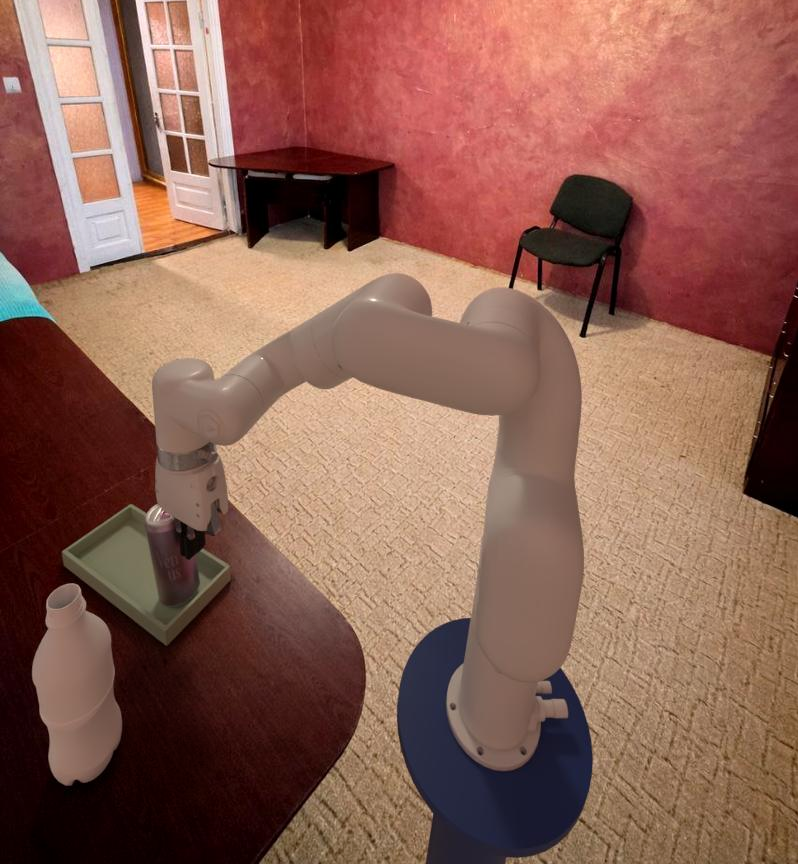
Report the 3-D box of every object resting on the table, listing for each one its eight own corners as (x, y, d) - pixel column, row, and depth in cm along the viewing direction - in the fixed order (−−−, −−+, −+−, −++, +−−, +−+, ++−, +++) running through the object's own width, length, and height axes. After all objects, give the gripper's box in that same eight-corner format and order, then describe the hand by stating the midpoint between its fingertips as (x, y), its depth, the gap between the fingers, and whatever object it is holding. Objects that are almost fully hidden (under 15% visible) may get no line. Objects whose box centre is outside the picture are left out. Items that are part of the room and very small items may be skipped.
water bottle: (137, 738, 59) (119, 582, 52) (79, 811, 53) (49, 644, 45) (97, 708, 62) (75, 555, 54) (38, 773, 55) (3, 610, 48)
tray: (231, 579, 80) (230, 565, 79) (166, 646, 69) (165, 631, 68) (132, 516, 90) (131, 503, 89) (63, 565, 80) (61, 551, 79)
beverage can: (203, 572, 80) (190, 494, 76) (196, 604, 74) (182, 521, 70) (164, 580, 78) (149, 501, 75) (154, 613, 73) (138, 530, 69)
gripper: (247, 451, 66) (249, 555, 72) (173, 415, 73) (179, 513, 78) (204, 484, 60) (208, 596, 65) (126, 442, 66) (136, 546, 71)
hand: (193, 550), depth 72 cm, fingers closed
